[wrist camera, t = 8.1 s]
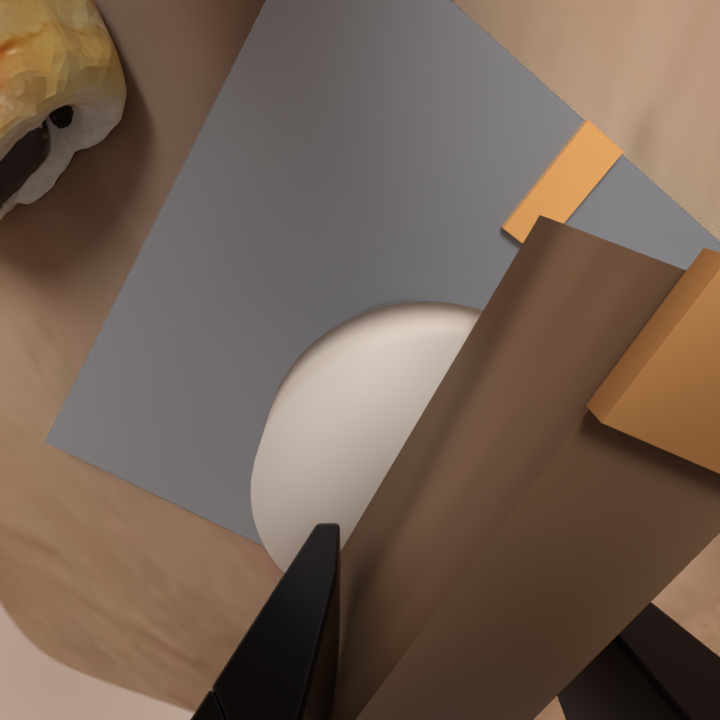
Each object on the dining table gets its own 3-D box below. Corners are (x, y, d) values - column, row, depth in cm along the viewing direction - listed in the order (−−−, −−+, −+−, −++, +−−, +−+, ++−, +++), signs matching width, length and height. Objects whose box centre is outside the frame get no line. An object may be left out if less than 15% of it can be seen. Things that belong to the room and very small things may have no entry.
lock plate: (325, -93, 10) (311, -218, 7) (771, 303, 14) (914, 356, 11) (62, 424, 16) (-25, 509, 12) (440, 610, 20) (460, 716, 16)
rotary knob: (202, 559, 13) (94, 860, 7) (391, 130, 8) (457, 105, 3) (436, 631, 14) (488, 931, 9) (699, 289, 10) (1113, 464, 4)
